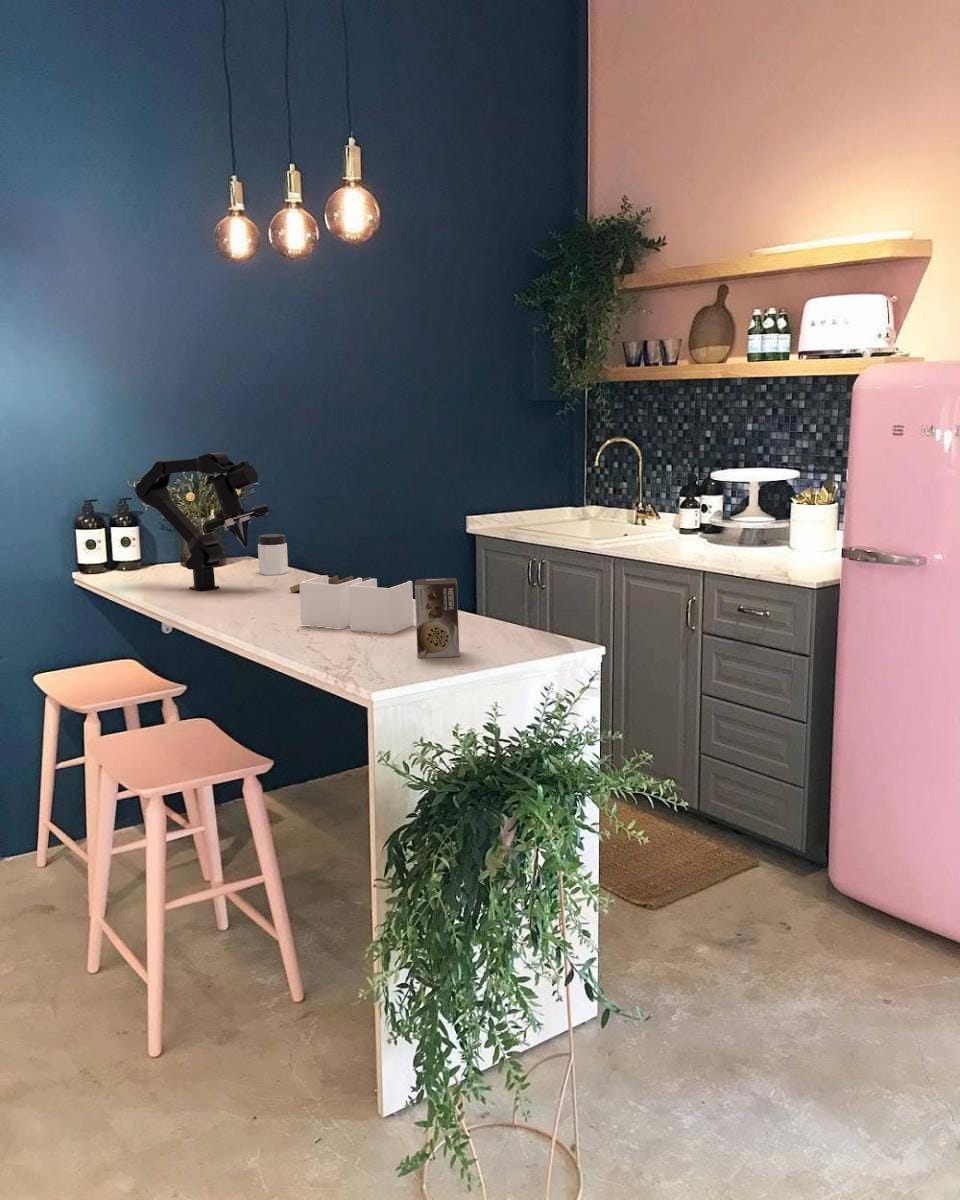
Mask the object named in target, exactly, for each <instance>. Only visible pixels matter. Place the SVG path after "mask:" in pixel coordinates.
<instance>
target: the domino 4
mask: <svg viewBox="0 0 960 1200" xmlns="http://www.w3.org/2000/svg"><path fill="white" fill-rule="evenodd" d="M370 579H372V577H371V576H369V577H365V578H362V582H363V581H367V580H370Z"/></svg>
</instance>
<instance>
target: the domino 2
mask: <svg viewBox="0 0 960 1200" xmlns="http://www.w3.org/2000/svg"><path fill="white" fill-rule="evenodd" d="M340 580H341V579H340V578H339V576H338V575H334V576H332V577H328V584H333V583H336V582H338V581H340Z"/></svg>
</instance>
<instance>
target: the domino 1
mask: <svg viewBox="0 0 960 1200" xmlns="http://www.w3.org/2000/svg"><path fill="white" fill-rule="evenodd" d="M321 576H324V575H322V574H321V575H319V576H316V577H314V578H317V577H321ZM314 578H312V579H314ZM289 591H290V593H291V592H293V593H295V592H298V591H300V584H299V583H297V584H294V585H292V586H290V587H289Z"/></svg>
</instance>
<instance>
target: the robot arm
mask: <svg viewBox="0 0 960 1200" xmlns="http://www.w3.org/2000/svg"><path fill="white" fill-rule="evenodd" d="M190 472H196V473H201V474H207V475H208V476H207V477H208V478H207V480H206V481H205V486H212V487H213V489H214V492H215V496H216V498H217V500H218V503H219V507H220V509H216V510H214V511H213V512H212V513H213V514H212V515H213V516H214V518H213V519H212V518H211V519H209V520H206V521H204V522H203V523H202V525H201V527H202V531H203V533H202V532H201V531H199V529H198V528H197V527H196V526H195V525H194V524H193V522H192V521H191V520H190V519H189V518H188V517H187V516H186V514H184V512H183V511H181V509H180V508H179V507H178V506H177V505H176V504H175V503H174V501H173V500H172V498H171V496H170V491H169V489H168V487H169V484H170V481H171V476H172V474H178V473H190ZM212 474H217V475H216V476H215V475H212ZM258 480H259V475H258V472H257V470H255V468H254V467H253V466H252V465H250V463H249V461H248V460H243V461H241V462H239V463H238V464H236V463H234V462H233V461H232V460H231V459H230V458H229V457H228V455H227V454H226V453H225V452H211V453H206V454H202V455H200V456H197V457H194V458H188V459H177V460H169V459H167V460H166V459H165V460H157V461H156V462H155V463H154V464H153V466H152V467H151V469H150V470H149V471H148V472H147V473H145V474H144V475H143V476H142V478H141V479H140V481H138V483H137V484H136V486H135V495H136V496H137V498H138V499H140V501H142V502H143V503H145V504H146V505H147V506H150V507H152V508H153V509H156V510H157V511H158V512H159V513H160V515H162V516H163V518H164V519H165V521H167V522H168V523H169V524H170V525H171V526H172V528H174V530H175V531H176V532H177V533H178V534H179V536H180V537H181V539H183V540H184V541H185V543H186V544H187V547H188V552H189V554H190V556H189V558H188V559H187V560H186V561H185V566H186V569H187V570H190V571H191V570H192V577H193V579H192V581H193V586H189V590H196V591H200V592H201V591H209V590H213V589H214V590H215V589H219V588H220V586H219V585H216V581H215V569H214V567H219V564H220V561H221V559H222V556H223V548H222V546H221V545H220V544H221V542H220V541H219V540H218V539H216V538H215V536H214V535H213V534H212V533H213V532H215V531H216V529H218V528H222V527H224V529H223V530H224V531H229V532H230V533H231V534H232V535H233V536H234V537H235V538H236V539H237V540H238V541H239V543H240V544H241V545H242V547H243V548H244V549H245V548H247V547H248V531H249V530H248V529H249V524H250V523H251V522H252V518H255V519H258V518H261V517H265V516H267V515H268V514H270V509H269V506H268V505H267V504H266V503H262V504H259V505H255V506H252V508H251V509H250V510H248V511H245V510H244V508H243V505H242V503H241V500H240V496H239V494H238V491H241V490H242V489H246V488H247V487H249V486H250V487H251V486H252V485H254V484H257V483H258ZM237 490H238V491H237ZM238 523H239V524H238Z"/></svg>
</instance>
